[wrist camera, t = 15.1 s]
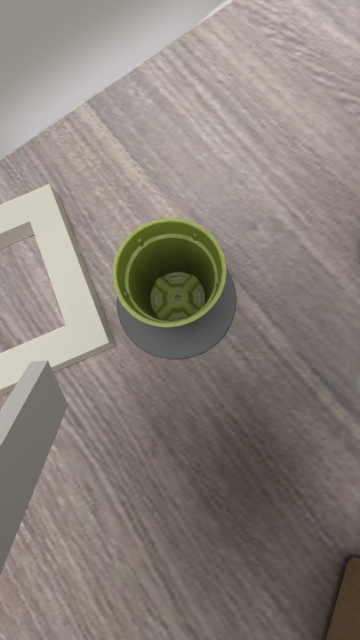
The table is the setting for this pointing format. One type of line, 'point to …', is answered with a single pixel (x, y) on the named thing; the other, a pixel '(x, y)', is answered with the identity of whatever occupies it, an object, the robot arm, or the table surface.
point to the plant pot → (169, 272)
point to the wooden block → (347, 605)
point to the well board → (68, 283)
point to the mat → (183, 328)
